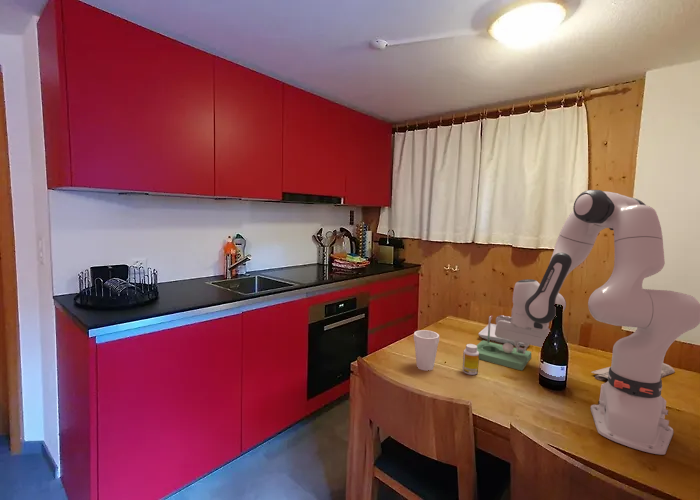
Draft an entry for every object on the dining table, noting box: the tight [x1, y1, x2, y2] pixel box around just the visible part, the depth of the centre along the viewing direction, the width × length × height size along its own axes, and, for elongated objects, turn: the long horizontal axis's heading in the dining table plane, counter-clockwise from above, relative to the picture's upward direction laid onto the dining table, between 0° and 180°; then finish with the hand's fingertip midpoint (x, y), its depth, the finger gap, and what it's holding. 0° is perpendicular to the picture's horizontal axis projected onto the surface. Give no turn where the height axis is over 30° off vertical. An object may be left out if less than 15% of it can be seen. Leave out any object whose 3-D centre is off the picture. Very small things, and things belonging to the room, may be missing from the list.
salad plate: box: [478, 323, 525, 347], centre depth 168 cm, size 21×21×3 cm
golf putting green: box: [475, 339, 532, 371], centre depth 146 cm, size 16×20×2 cm
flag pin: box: [486, 314, 493, 343], centre depth 156 cm, size 4×1×12 cm, turn 142°
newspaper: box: [591, 362, 675, 381], centre depth 133 cm, size 35×12×4 cm, turn 117°
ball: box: [502, 343, 515, 353], centre depth 144 cm, size 4×4×4 cm
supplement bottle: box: [462, 343, 480, 376], centre depth 132 cm, size 6×6×10 cm
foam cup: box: [413, 329, 440, 372], centre depth 135 cm, size 10×9×13 cm
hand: (520, 352), depth 142 cm, fingers closed
